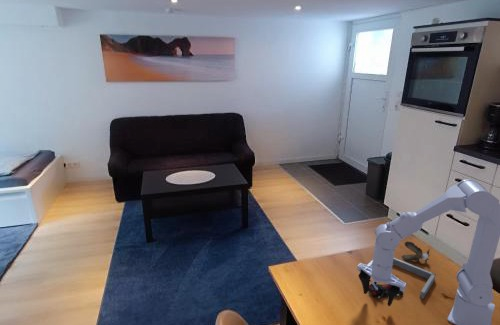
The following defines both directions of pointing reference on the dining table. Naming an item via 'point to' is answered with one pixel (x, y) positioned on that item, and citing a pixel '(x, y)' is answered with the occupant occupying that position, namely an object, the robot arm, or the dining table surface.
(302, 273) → the dining table surface
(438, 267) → the dining table surface
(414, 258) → the eagle figurine
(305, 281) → the dining table surface
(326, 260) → the dining table surface
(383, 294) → the toy car
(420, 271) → the garage bay
